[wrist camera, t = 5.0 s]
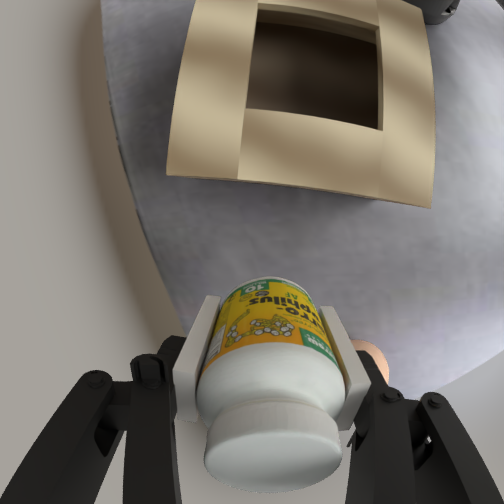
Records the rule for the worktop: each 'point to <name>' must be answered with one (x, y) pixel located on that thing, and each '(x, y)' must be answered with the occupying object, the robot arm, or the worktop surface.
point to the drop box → (307, 98)
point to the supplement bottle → (270, 391)
